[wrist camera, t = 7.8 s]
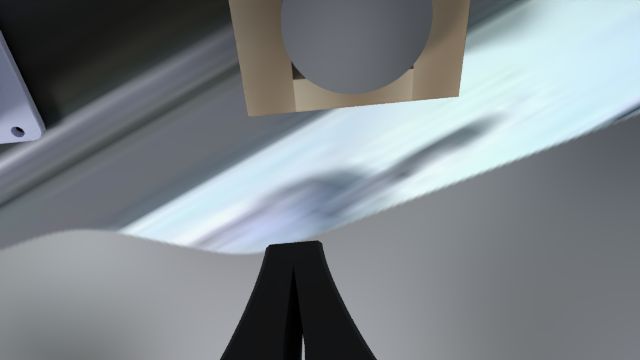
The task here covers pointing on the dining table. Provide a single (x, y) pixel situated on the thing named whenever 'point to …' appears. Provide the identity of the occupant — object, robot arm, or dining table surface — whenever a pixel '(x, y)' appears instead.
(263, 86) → the socket block
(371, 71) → the grey plug
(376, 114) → the dining table surface
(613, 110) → the dining table surface
